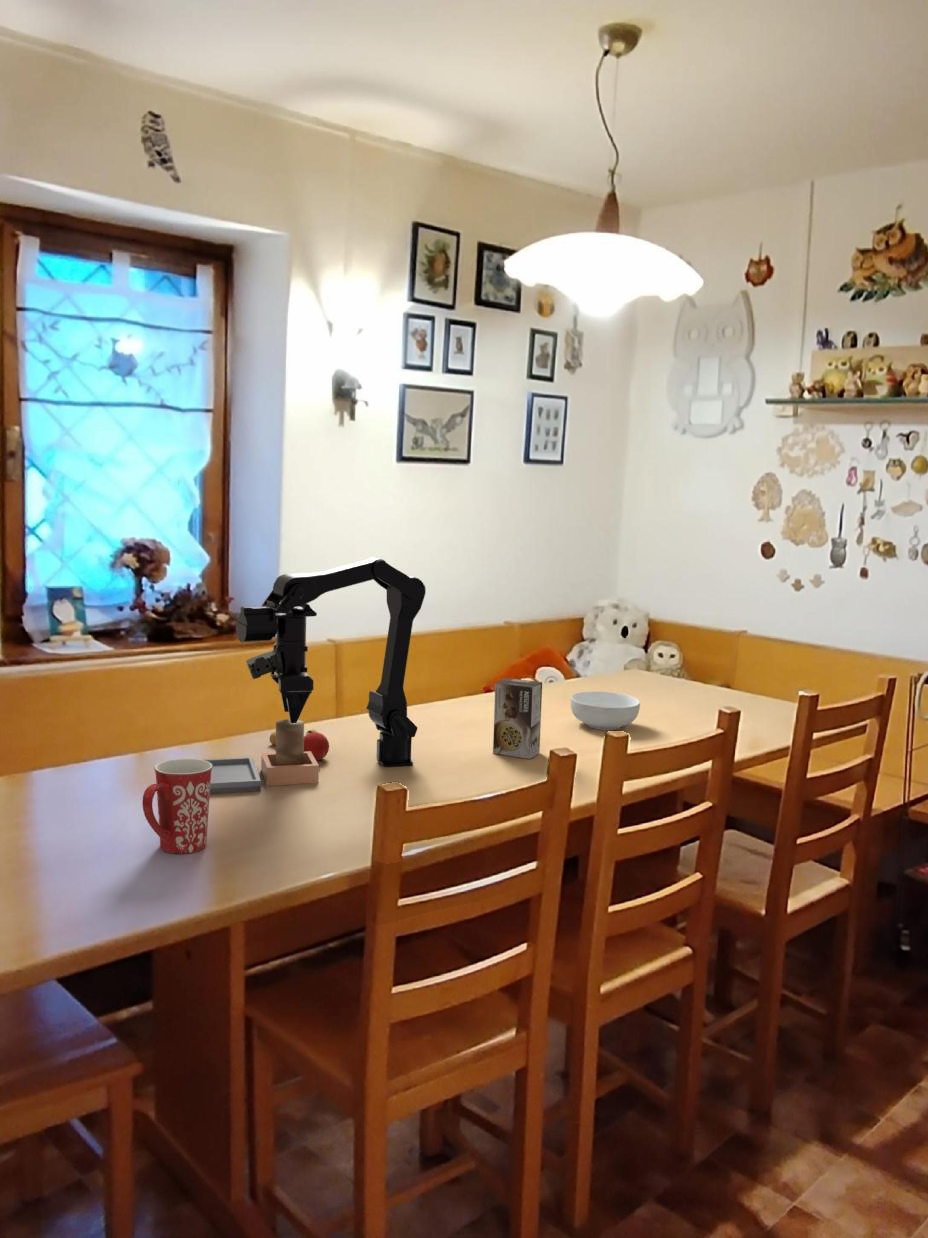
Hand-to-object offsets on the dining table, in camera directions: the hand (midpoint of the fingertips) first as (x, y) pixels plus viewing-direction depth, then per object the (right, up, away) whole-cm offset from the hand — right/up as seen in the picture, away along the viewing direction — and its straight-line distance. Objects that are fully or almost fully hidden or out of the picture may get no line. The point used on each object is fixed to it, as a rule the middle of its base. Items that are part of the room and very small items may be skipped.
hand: (290, 717), depth 204 cm
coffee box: (+46, -11, +24) cm, 53 cm away
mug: (-12, -18, -38) cm, 44 cm away
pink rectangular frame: (-1, -12, +2) cm, 12 cm away
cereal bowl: (+69, -7, +51) cm, 86 cm away
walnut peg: (-1, -12, +2) cm, 12 cm away
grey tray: (-12, -12, -2) cm, 17 cm away
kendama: (-2, -10, +18) cm, 21 cm away
